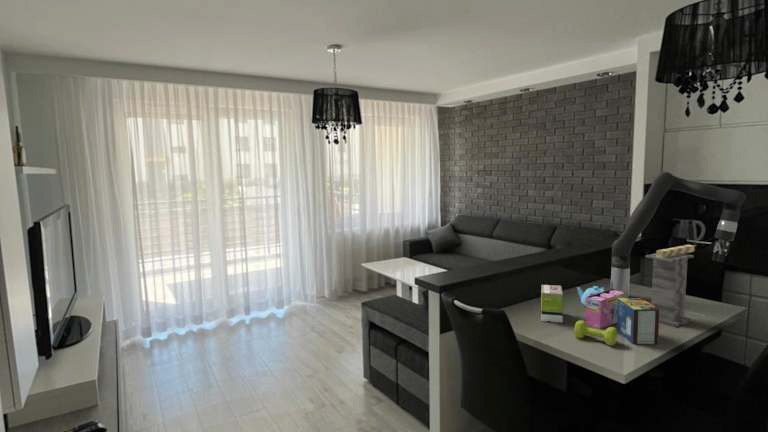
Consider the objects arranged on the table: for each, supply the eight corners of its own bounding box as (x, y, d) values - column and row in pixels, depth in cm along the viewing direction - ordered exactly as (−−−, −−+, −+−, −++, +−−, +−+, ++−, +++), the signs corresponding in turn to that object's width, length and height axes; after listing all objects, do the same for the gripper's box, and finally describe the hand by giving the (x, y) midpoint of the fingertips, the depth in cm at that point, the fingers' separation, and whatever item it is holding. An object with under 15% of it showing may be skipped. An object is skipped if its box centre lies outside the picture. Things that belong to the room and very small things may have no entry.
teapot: (575, 301, 237) (575, 282, 236) (603, 301, 236) (603, 282, 235) (585, 310, 222) (586, 290, 221) (615, 310, 221) (616, 290, 219)
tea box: (540, 311, 222) (541, 283, 220) (561, 313, 219) (562, 285, 217) (540, 321, 208) (541, 291, 206) (563, 323, 205) (563, 293, 203)
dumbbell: (572, 338, 187) (572, 322, 186) (578, 333, 193) (579, 317, 192) (613, 348, 176) (613, 332, 175) (618, 342, 181) (619, 326, 180)
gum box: (612, 314, 216) (613, 288, 214) (628, 318, 209) (629, 291, 208) (584, 324, 203) (585, 296, 201) (600, 329, 196) (601, 300, 195)
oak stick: (662, 257, 197) (663, 251, 196) (656, 256, 199) (656, 250, 199) (694, 251, 209) (694, 245, 209) (687, 250, 212) (688, 244, 212)
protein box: (640, 331, 193) (641, 297, 192) (658, 345, 178) (660, 309, 176) (616, 330, 194) (617, 297, 193) (632, 344, 179) (633, 308, 177)
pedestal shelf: (670, 328, 195) (674, 260, 192) (640, 319, 207) (643, 255, 204) (692, 321, 203) (696, 255, 200) (661, 312, 216) (664, 250, 212)
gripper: (712, 228, 221) (704, 258, 223) (722, 228, 208) (713, 260, 210) (730, 231, 219) (721, 261, 220) (740, 232, 206) (731, 264, 207)
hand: (717, 261), depth 215 cm, fingers open, 8 cm apart
